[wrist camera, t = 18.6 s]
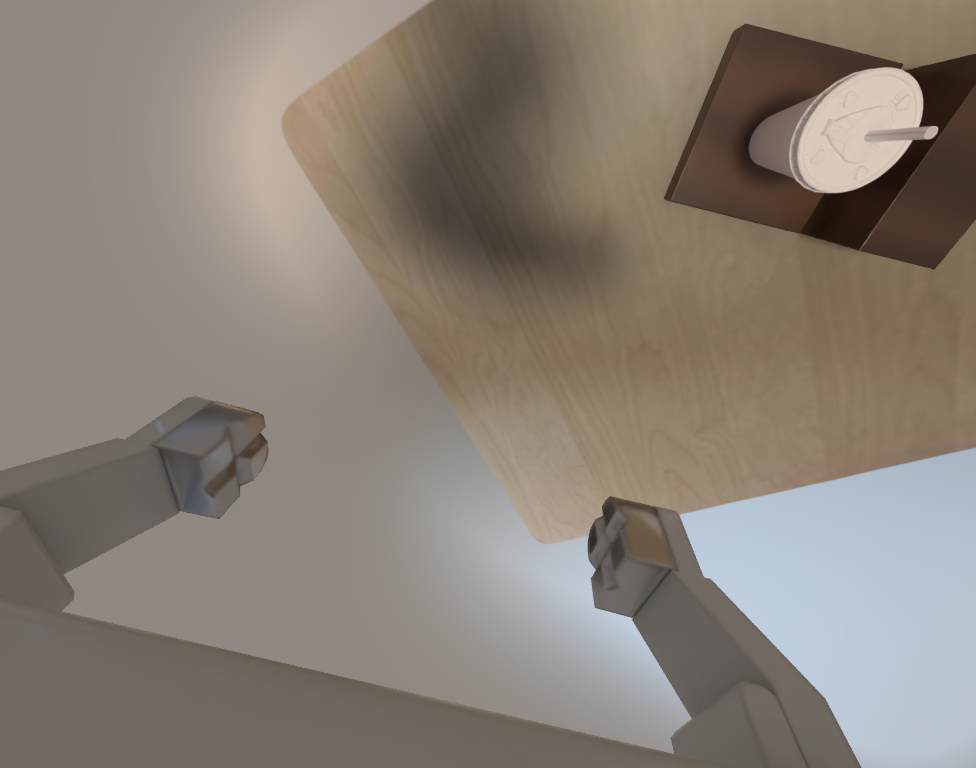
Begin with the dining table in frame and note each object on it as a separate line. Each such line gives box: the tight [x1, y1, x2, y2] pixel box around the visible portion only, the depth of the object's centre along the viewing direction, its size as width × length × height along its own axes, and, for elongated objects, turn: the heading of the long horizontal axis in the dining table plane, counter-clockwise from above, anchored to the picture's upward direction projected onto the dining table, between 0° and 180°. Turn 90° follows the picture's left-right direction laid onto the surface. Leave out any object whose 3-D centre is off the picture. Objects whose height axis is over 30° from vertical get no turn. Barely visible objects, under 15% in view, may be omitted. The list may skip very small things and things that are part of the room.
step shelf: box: [664, 24, 976, 269], centre depth 29 cm, size 12×19×8 cm, turn 78°
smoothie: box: [749, 67, 938, 193], centre depth 25 cm, size 6×6×14 cm
